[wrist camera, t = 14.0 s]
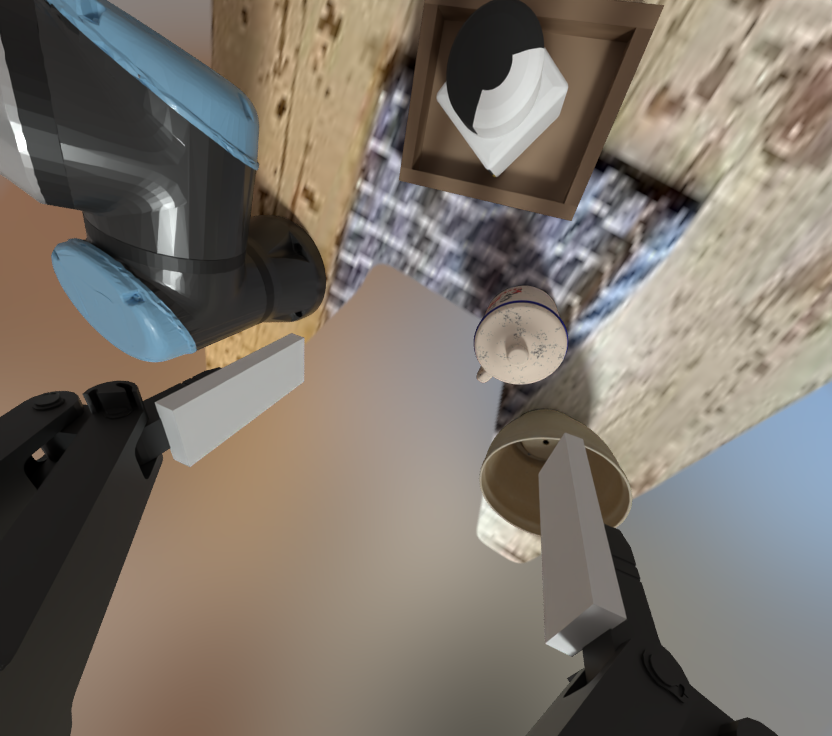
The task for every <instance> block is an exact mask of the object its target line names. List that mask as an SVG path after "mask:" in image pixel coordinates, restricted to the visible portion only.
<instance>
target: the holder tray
mask: <svg viewBox="0 0 832 736" xmlns="http://www.w3.org/2000/svg"><path fill="white" fill-rule="evenodd" d="M490 1H492V0H425V3H424V9H423V16H422V23H421V30H420V37H419V44H418V51H417V58H416V65H415V72H414V79H413V86H412V93H411V100H410V107H409V114H408V121H407V128H406V134H405V141H404V148H403V155H402V162H401V169H400V176H399V180H400V181H404V182H408V183H412V184H416V185H420V186H425V187H429V188H433V189H437V190H442V191H446V192H450V193H454V194H459V195H463V196H467V197H471V198H476V199H480V200H484V201H488V202H493V203H497V204H501V205H505V206H510V207H514V208H518V209H522V210H527V211H531V212H535V213H539V214H544V215H548V216H552V217H556V218H561V219H565V220H570V221H572V218H573V216H574V214H575V211H576V209H577V207H578V204H579V202H580V200H581V197H582V195H583V193H584V191H585V188H586V186H587V184H588V181H589V179H590V177H591V174H592V172H593V170H594V167H595V165H596V163H597V160H598V158H599V156H600V153H601V151H602V149H603V146H604V144H605V142H606V139H607V137H608V135H609V132H610V130H611V128H612V126H613V123H614V121H615V119H616V116H617V114H618V112H619V109H620V107H621V105H622V102H623V100H624V98H625V95H626V93H627V91H628V88H629V86H630V84H631V81H632V79H633V77H634V74H635V72H636V70H637V67H638V65H639V63H640V61H641V58H642V56H643V54H644V51H645V49H646V47H647V44H648V42H649V40H650V37H651V35H652V33H653V30H654V28H655V26H656V23H657V21H658V19H659V16H660V14H661V12H662V9H663V7H664V5H656V4H646V3H636V2H626V1H616V0H519V1H521V2H523V3H525V4H526V5H527V6H528V7H530V8H531V9H532V11H533V12H534V13H535V15H536V17H537V18H538V20H539V22H540V25H541V28H542V32H543V37H544V47H545V49H546V50H547V52H548V53H549V55H550V56H551V58H552V60H553V61H554V63H555V64H556V66H557V67H558V69H559V71H560V72H561V74H562V75H563V77H564V78H565V80H566V82H567V83H568V90H567V93H566V96H565V100H564V103H563V106H562V109H561V112H560V115H559V117H558V118H557V119H556V120H555V121H554V122H553V123H552V124H551V125H550V126H549V127H548V128H547V129H546V130H545V131H544V132H543V133H542V134H541V135H540V136H539V137H538V138H537V139H536V140H535V141H534V142H533V143H532V144H531V145H530V146H529V147H528V148H527V149H526V150H525V151H524V152H523V153H522V154H521V155H520V156H519V157H517V158H516V159H515V160H514V161H513V162H512V163H511V164H510V165H509V166H508V167H507V168H506V169H505V170H504V171H503V172H502V173H501V174H500V175H499V176H498V177H494V176H493V175H492V174H491V173H490V172H489V171H488V170H487V169H486V168H485V167H484V165H483V164H482V162H481V161H480V160H479V158H478V157H477V155H476V154H475V153H474V151H473V150H472V148H471V147H470V146H469V144H468V143H467V141H466V140H465V139H464V137H463V136H462V134H461V133H460V132H459V130H458V129H457V127H456V126H455V125H454V123H453V122H452V120H451V119H450V118H449V116H448V115H447V114H446V112H445V111H444V109H443V108H442V107H441V105H440V104H439V102H438V101H437V93H438V91H439V90H440V89H441V87H442V86H443V85H444V83H445V82H446V70H447V62H448V57H449V54H450V50H451V47H452V44H453V42H454V40H455V37H456V36H457V34H458V32H459V30H460V28H461V27H462V25H463V24H464V22H465V21H466V20H467V19H468V18H469V16H470V15H471V14H472V13H474V12H475V11H476V10H477V9H478V8H480V7H481V6H482V5H484V4H486V3H488V2H490Z"/></svg>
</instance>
